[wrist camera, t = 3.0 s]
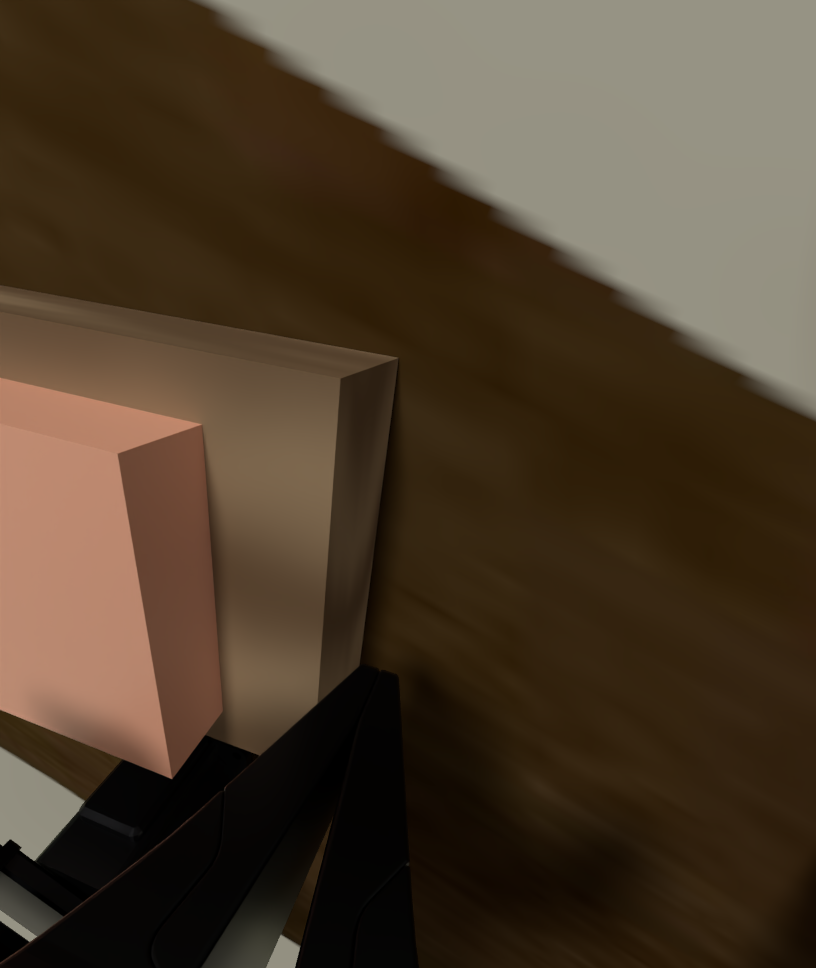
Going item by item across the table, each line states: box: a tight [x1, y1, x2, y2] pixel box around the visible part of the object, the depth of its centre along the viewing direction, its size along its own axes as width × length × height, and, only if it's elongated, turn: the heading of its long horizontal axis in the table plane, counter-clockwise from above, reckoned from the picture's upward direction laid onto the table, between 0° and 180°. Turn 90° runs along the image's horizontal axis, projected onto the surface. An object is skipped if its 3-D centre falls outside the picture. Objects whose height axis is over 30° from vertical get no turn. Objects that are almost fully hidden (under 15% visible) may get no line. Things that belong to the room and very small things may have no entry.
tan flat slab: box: [0, 285, 399, 755], centre depth 13 cm, size 12×18×4 cm, turn 82°
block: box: [0, 378, 223, 779], centre depth 10 cm, size 9×6×2 cm, turn 172°
